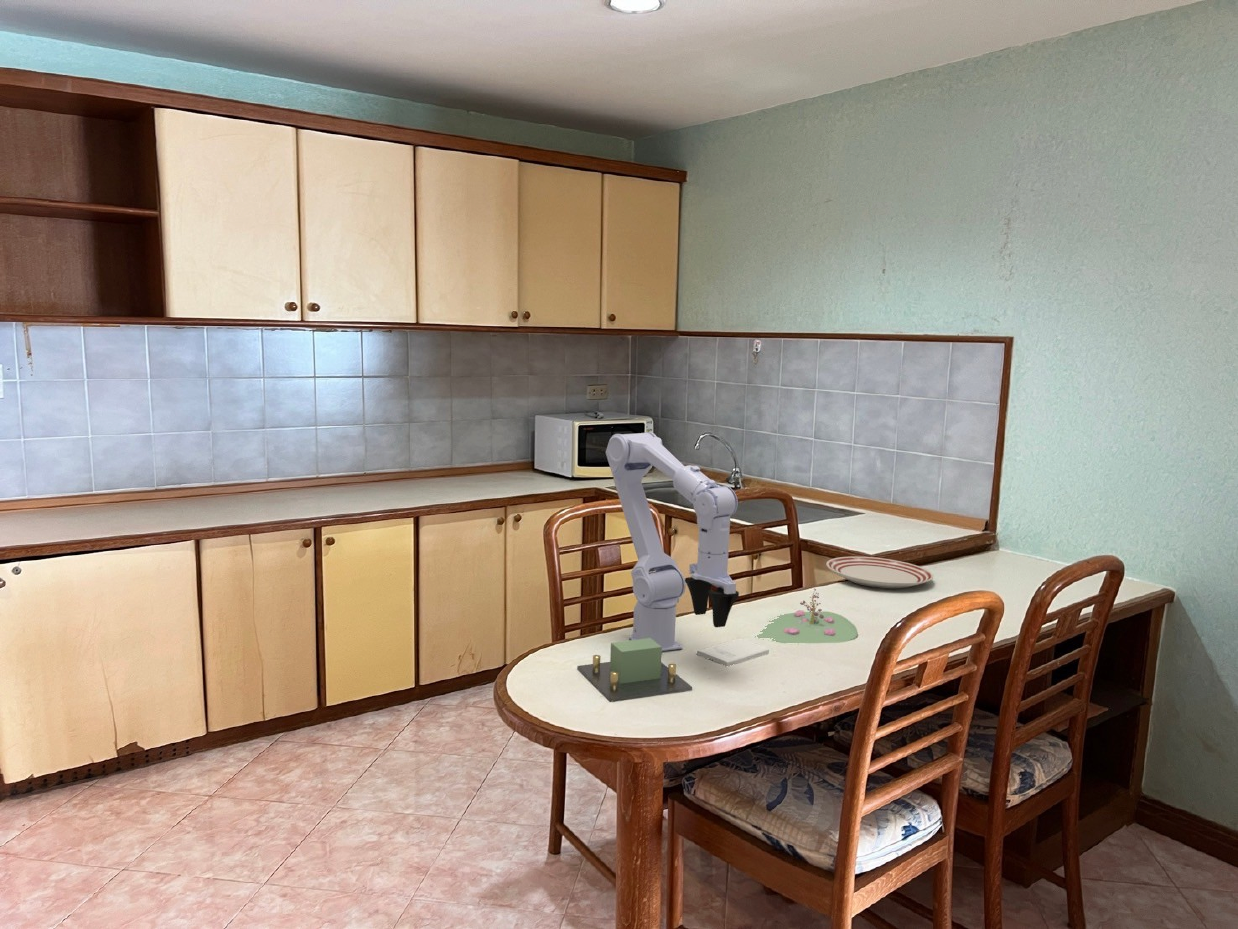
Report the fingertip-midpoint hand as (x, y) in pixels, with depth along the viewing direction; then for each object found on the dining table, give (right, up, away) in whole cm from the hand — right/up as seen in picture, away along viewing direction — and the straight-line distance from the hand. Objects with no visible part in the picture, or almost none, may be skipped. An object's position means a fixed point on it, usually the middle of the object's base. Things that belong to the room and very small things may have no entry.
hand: (709, 620), depth 175 cm
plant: (+23, -7, +26) cm, 35 cm away
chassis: (-15, -10, -6) cm, 19 cm away
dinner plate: (+52, -1, +69) cm, 86 cm away
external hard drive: (+6, -9, +9) cm, 14 cm away
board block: (-14, -9, -6) cm, 18 cm away
